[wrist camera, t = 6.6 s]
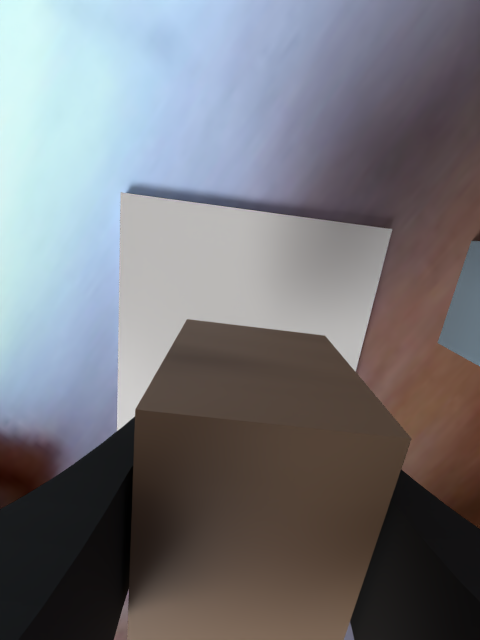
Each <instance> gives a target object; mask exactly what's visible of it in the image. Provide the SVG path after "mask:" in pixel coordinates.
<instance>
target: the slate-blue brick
mask: <svg viewBox="0 0 480 640" xmlns="http://www.w3.org/2000/svg"><path fill="white" fill-rule="evenodd" d="M438 343H439V344H441V345H442V346H444V347H446V348H448V349H450V350H451V351H453V352H455V353H457V354H459V355H460V356H462V357H464V358H466V359H468V360H469V361H471V362H473V363H475V364H477V365H478V366H480V241H471V244H470V247H469V250H468V253H467V256H466V259H465V262H464V265H463V268H462V271H461V274H460V277H459V280H458V283H457V286H456V289H455V292H454V295H453V298H452V301H451V304H450V307H449V310H448V313H447V316H446V319H445V322H444V325H443V329H442V332H441V335H440V338H439V341H438Z"/></svg>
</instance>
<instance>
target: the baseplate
mask: <svg viewBox="0 0 480 640" xmlns="http://www.w3.org/2000/svg"><path fill="white" fill-rule="evenodd" d="M391 232H392V229H387V228H379V227H372V226H365V225H357V224H350V223H343V222H335V221H328V220H320V219H313V218H306V217H298V216H291V215H284V214H276V213H269V212H262V211H254V210H247V209H239V208H232V207H225V206H217V205H210V204H203V203H195V202H188V201H181V200H173V199H166V198H158V197H151V196H144V195H136V194H129V193H122V192H121V206H120V271H119V336H118V401H117V430H119V429H120V428H122V427H123V426H124V425H125V424H126V423H128V422H129V421H130V420H131V419H132V418H133V417H135V409H136V407H137V406H138V404H139V402H140V400H141V399H142V397H143V395H144V393H145V392H146V390H147V388H148V386H149V385H150V383H151V381H152V379H153V378H154V376H155V374H156V372H157V371H158V369H159V367H160V365H161V364H162V362H163V360H164V358H165V357H166V355H167V353H168V351H169V350H170V348H171V346H172V345H173V343H174V341H175V339H176V338H177V336H178V334H179V332H180V331H181V329H182V327H183V325H184V324H185V322H186V320H187V319H190V320H199V321H207V322H216V323H224V324H232V325H241V326H249V327H258V328H266V329H274V330H283V331H291V332H300V333H308V334H316V335H325V336H326V337H327V338H328V340H329V341H330V342H331V343H332V344H333V346H334V347H335V348H336V349H337V350H338V352H339V353H340V354H341V355H342V356H343V358H344V359H345V360H346V361H347V362H348V364H349V365H350V366H351V367H352V368H353V369H354V371H355V372H356V368H357V364H358V361H359V357H360V353H361V349H362V345H363V341H364V337H365V333H366V329H367V326H368V322H369V318H370V314H371V310H372V306H373V302H374V298H375V294H376V290H377V287H378V283H379V279H380V275H381V271H382V267H383V263H384V259H385V255H386V252H387V248H388V244H389V240H390V236H391Z"/></svg>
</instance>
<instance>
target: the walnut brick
mask: <svg viewBox="0 0 480 640" xmlns="http://www.w3.org/2000/svg"><path fill="white" fill-rule="evenodd" d="M410 441H411V438H410V436H409V435H408V434H407V433H406V432H405V430H404V429H403V428H402V427H401V426H400V424H399V423H398V422H397V421H396V420H395V418H394V417H393V416H392V415H391V414H390V412H389V411H388V410H387V409H386V408H385V406H384V405H383V404H382V403H381V402H380V401H379V399H378V398H377V397H376V396H375V395H374V393H373V392H372V391H371V390H370V389H369V387H368V386H367V385H366V384H365V383H364V381H363V380H362V379H361V378H360V377H359V375H358V374H357V373H356V372H355V371H354V369H353V368H352V367H351V366H350V365H349V364H348V362H347V361H346V360H345V359H344V358H343V356H342V355H341V354H340V353H339V352H338V350H337V349H336V348H335V347H334V346H333V344H332V343H331V342H330V341H329V340H328V338H327V337H326V336H325V335H316V334H308V333H300V332H291V331H283V330H274V329H266V328H258V327H249V326H241V325H232V324H224V323H216V322H207V321H199V320H190V319H187V320H186V322H185V324H184V325H183V327H182V329H181V331H180V332H179V334H178V336H177V338H176V339H175V341H174V343H173V345H172V346H171V348H170V350H169V351H168V353H167V355H166V357H165V358H164V360H163V362H162V364H161V365H160V367H159V369H158V371H157V372H156V374H155V376H154V378H153V379H152V381H151V383H150V385H149V386H148V388H147V390H146V392H145V393H144V395H143V397H142V399H141V400H140V402H139V404H138V406H137V407H136V409H135V431H134V460H133V489H132V519H131V548H130V577H129V606H128V635H127V640H344V637H345V635H346V632H347V629H348V626H349V623H350V620H351V617H352V614H353V611H354V608H355V605H356V602H357V599H358V596H359V593H360V590H361V587H362V584H363V581H364V578H365V575H366V572H367V569H368V566H369V563H370V560H371V557H372V554H373V551H374V548H375V545H376V542H377V539H378V536H379V534H380V531H381V528H382V525H383V522H384V519H385V516H386V513H387V510H388V507H389V504H390V501H391V498H392V495H393V492H394V489H395V486H396V483H397V480H398V477H399V474H400V471H401V468H402V465H403V462H404V459H405V456H406V453H407V450H408V447H409V444H410Z"/></svg>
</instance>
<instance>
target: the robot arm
mask: <svg viewBox="0 0 480 640" xmlns="http://www.w3.org/2000/svg"><path fill="white" fill-rule="evenodd" d="M134 431H135V417H133V418H132V419H131V420H130V421H129V422H128V423H126V424H125V425H124V426H123V427H122V428H120V429H119V430H118V431H117V432H115V433H114V434H113V435H112V436H111V437H109V438H108V439H107V440H106V441H104V442H103V443H102V444H100V445H99V446H98V447H96V448H95V449H94V450H92V451H91V452H90V453H88V454H87V455H86V456H84V457H83V458H81V459H80V460H79V461H77V462H76V463H75V464H73V465H72V466H70V467H69V468H68V469H66V470H65V471H63V472H62V473H60V474H59V475H57V476H56V477H54V478H53V479H51V480H49V481H48V482H46V483H44V484H43V485H41V486H40V487H38V488H36V489H35V490H33V491H32V492H30V493H28V494H27V495H25V496H23V497H21V498H20V499H18V500H16V501H14V502H13V503H11V504H9V505H7V506H5V507H3V508H2V509H0V640H114V637H115V633H116V629H117V626H118V622H119V618H120V615H121V611H122V608H123V605H124V602H125V598H126V595H127V592H128V589H129V577H130V548H131V519H132V489H133V460H134ZM344 640H480V529H479V528H477V527H476V526H475V525H473V524H472V523H470V522H469V521H467V520H466V519H465V518H463V517H462V516H460V515H459V514H458V513H456V512H455V511H453V510H452V509H451V508H449V507H448V506H447V505H445V504H444V503H443V502H441V501H440V500H439V499H438V498H436V497H435V496H434V495H432V494H431V493H430V492H429V491H427V490H426V489H425V488H423V487H422V486H421V485H420V484H418V483H417V482H416V481H415V480H413V479H412V478H411V477H410V476H409V475H407V474H406V473H405V472H404V471H402V470H401V471H400V474H399V477H398V480H397V483H396V486H395V489H394V492H393V495H392V498H391V501H390V504H389V507H388V510H387V513H386V516H385V519H384V522H383V525H382V528H381V531H380V534H379V536H378V539H377V542H376V545H375V548H374V551H373V554H372V557H371V560H370V563H369V566H368V569H367V572H366V575H365V578H364V581H363V584H362V587H361V590H360V593H359V596H358V599H357V602H356V605H355V608H354V611H353V614H352V617H351V620H350V623H349V626H348V629H347V632H346V635H345V637H344Z"/></svg>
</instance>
